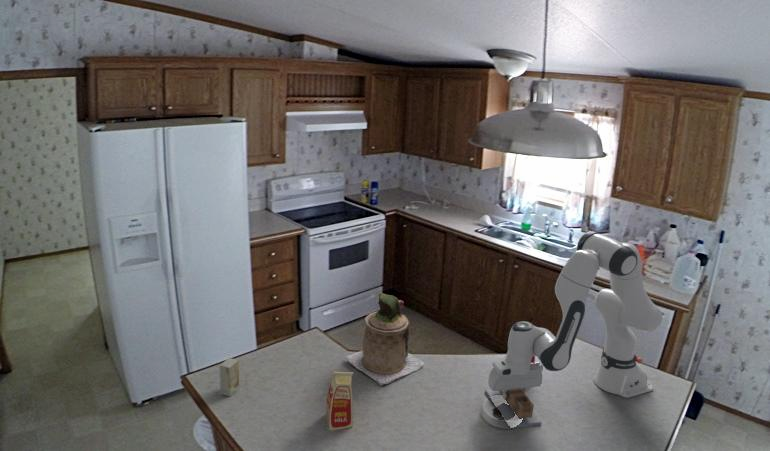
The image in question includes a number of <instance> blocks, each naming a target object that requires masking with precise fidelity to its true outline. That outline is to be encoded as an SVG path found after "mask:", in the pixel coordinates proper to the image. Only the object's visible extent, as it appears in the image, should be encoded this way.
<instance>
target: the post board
mask: <svg viewBox="0 0 770 451" xmlns="http://www.w3.org/2000/svg"><path fill="white" fill-rule="evenodd" d="M484 393H486V395H487V397H488V398H489V397H492V396H495V395H501V393H500V392H499V391H492V390H491V388H485V390H484ZM519 402H524V400H519ZM498 408H499V410H500V412H501V413H502V415H503V416H504V418H505V419H506V420H508V419H511V418H513V417H514V416H515V413H514V411H513V410H512V408H511V407H510V406H509V405H507V404H505V403H502V404H501V405H500V406H499V407H498ZM535 426H542V420H541V419H540V418H539V417H538V416H537V415H536V413H535V411H533V414H532V417H530V418H523V420H522V422H521V423H520V424H519V425H517V426H516V427H515V428H514V429H520V428H526V427H535Z"/></svg>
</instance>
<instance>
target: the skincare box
mask: <svg viewBox="0 0 770 451" xmlns="http://www.w3.org/2000/svg"><path fill="white" fill-rule="evenodd" d="M239 371H240V368H239V359H235V358H231V357H228V358H227V359H225V361H223V362H222V363H221V364H220V365H219V382H220V383H219V384H220V385H219V386H220V395H223V396H226V397H232V396H233V395H234V394H235V393H236V392H237V391H238V390H239V389H240V372H239Z"/></svg>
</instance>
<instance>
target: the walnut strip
mask: <svg viewBox="0 0 770 451" xmlns="http://www.w3.org/2000/svg"><path fill="white" fill-rule="evenodd" d="M499 392H500V393H501V395H502V396H503V392H502V390H501V391H499ZM505 393H506V392H505ZM507 394H508V395H509V397H508V399H505V400H506V401H507V403H508V404H509V406H510V407H511V408H512V410H513V411H514V412H515V414H516V415H517V416H518V418H519V419H522V418H530V417H532V414H533V412H534V407H535V405H534V404H533V402H532V401H531V400H530V399H529V396H527V394H526V393H525V394H524V392H523V391H522V388H519V389H510V390H507ZM519 400H524V402H519Z"/></svg>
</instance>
